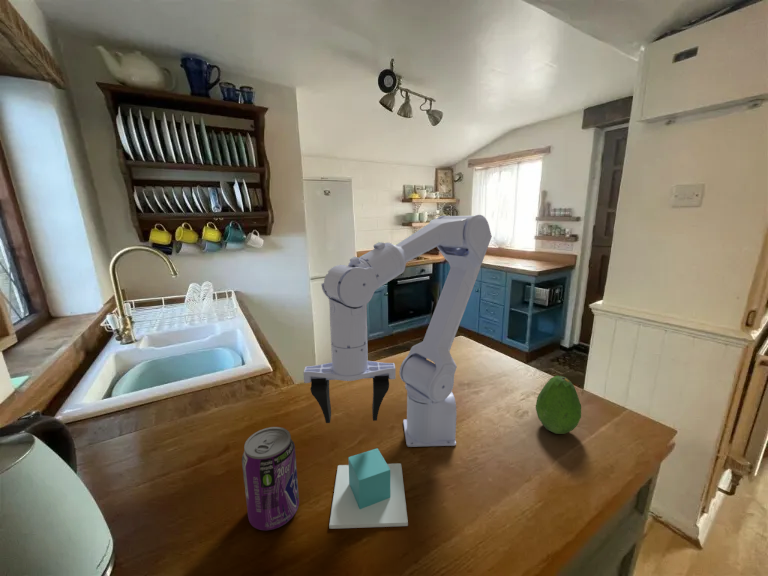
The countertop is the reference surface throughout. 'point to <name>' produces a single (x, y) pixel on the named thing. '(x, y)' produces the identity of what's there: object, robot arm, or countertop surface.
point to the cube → (369, 478)
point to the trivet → (371, 516)
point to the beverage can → (270, 478)
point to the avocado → (558, 406)
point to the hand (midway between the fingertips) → (351, 418)
